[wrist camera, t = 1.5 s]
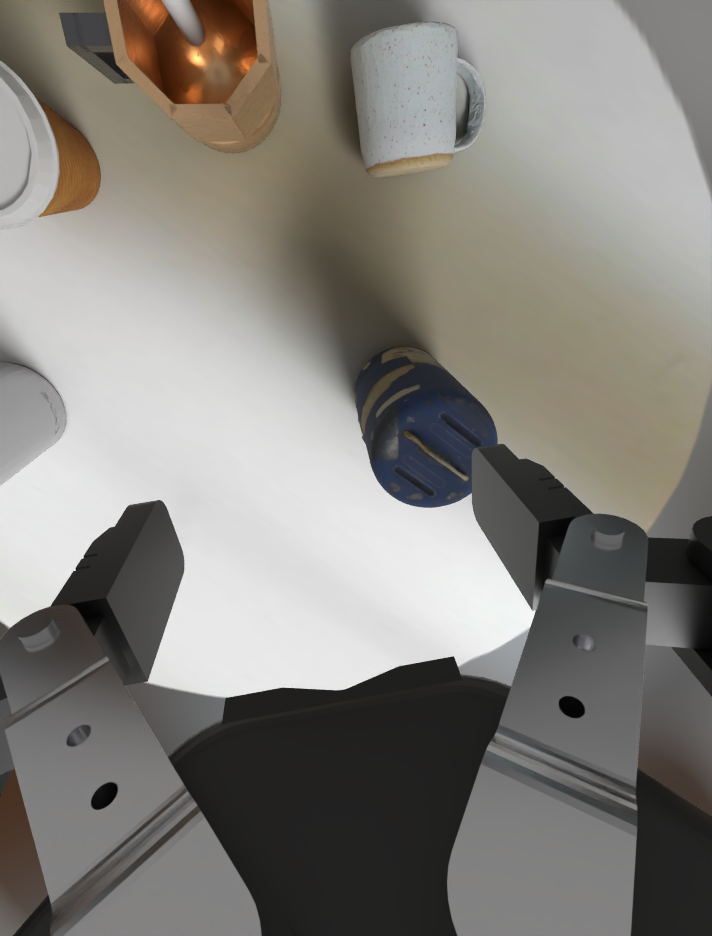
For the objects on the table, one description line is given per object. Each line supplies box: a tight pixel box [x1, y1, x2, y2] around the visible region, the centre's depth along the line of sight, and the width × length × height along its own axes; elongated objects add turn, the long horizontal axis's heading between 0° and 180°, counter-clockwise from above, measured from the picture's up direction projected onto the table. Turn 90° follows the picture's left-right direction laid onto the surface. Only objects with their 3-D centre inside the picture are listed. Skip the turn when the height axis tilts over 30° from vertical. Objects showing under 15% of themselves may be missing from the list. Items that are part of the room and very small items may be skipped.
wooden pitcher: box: [59, 0, 281, 153], centre depth 31 cm, size 11×9×12 cm
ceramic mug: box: [350, 21, 486, 177], centre depth 35 cm, size 11×8×8 cm
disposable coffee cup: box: [0, 61, 101, 230], centre depth 32 cm, size 10×10×12 cm
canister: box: [355, 347, 497, 508], centre depth 40 cm, size 10×10×18 cm
